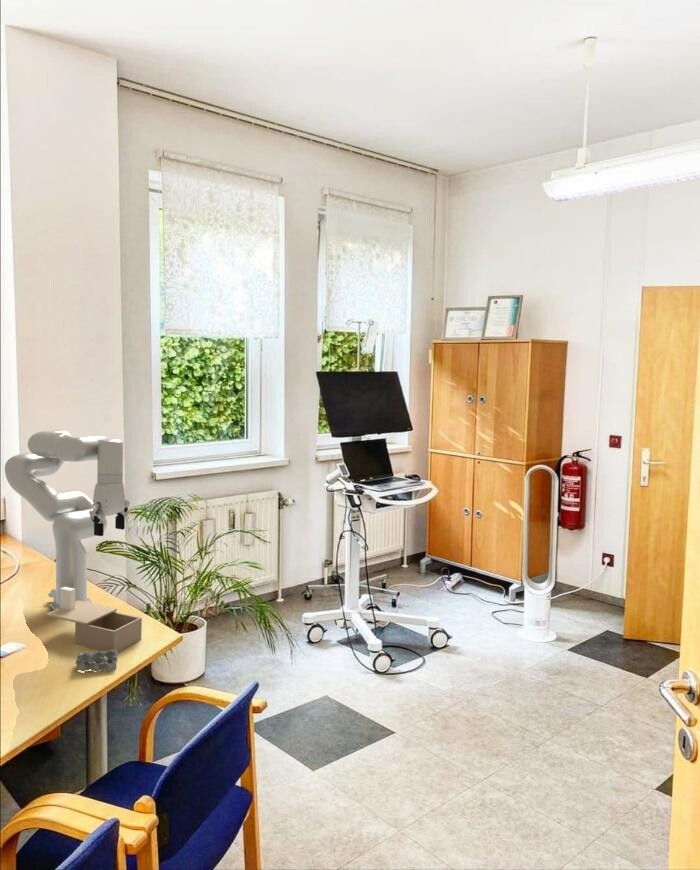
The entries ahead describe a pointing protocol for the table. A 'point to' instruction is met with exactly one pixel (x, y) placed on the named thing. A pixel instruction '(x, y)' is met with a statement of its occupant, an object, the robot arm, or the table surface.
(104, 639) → the carton
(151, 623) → the table surface
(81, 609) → the lid
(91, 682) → the table surface
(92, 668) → the egg carton
